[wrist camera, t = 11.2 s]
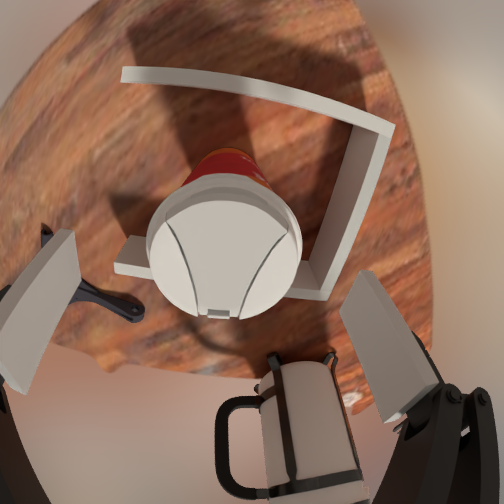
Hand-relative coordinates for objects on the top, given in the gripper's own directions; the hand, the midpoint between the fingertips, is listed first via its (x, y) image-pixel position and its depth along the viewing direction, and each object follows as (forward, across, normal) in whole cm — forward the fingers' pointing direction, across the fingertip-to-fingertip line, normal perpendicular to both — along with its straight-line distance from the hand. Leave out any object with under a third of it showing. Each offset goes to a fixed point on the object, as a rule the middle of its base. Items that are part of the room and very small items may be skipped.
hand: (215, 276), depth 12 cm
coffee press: (+15, +15, -29) cm, 35 cm away
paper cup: (+15, 0, 0) cm, 15 cm away
